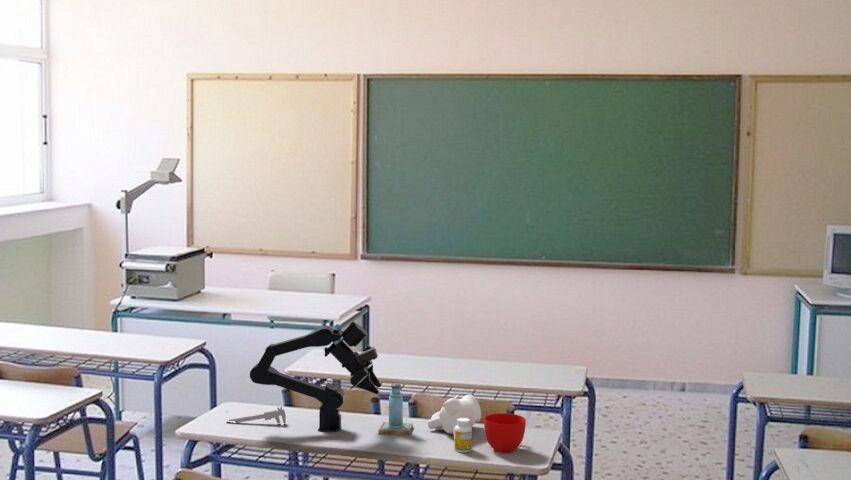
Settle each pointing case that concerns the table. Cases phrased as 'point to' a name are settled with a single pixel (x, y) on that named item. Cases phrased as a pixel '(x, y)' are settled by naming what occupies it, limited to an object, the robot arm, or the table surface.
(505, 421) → the ceramic cup
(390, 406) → the water bottle
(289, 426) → the table surface
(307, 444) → the table surface
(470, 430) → the supplement bottle
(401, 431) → the picture frame
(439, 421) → the fox head
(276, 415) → the caliper
